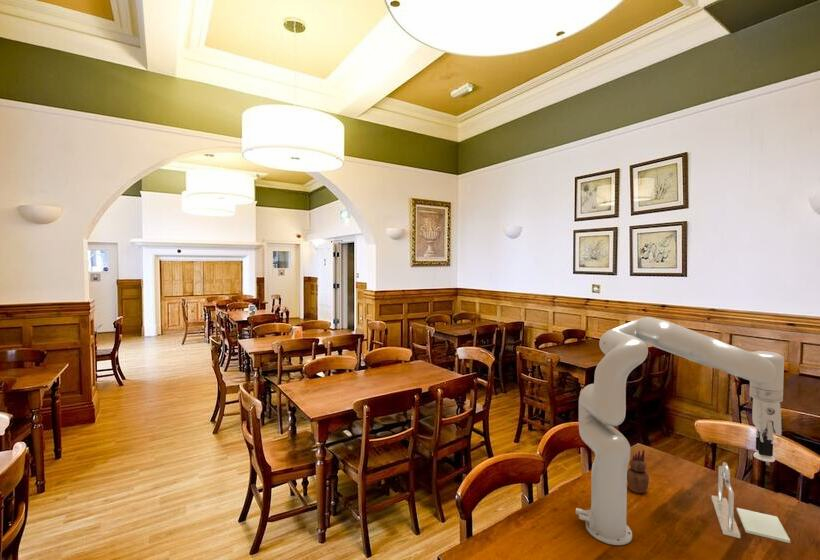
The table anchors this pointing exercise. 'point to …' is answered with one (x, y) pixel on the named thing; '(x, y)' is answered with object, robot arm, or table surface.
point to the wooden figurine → (638, 474)
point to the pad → (762, 525)
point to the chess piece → (763, 457)
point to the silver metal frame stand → (725, 504)
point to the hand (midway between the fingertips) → (764, 452)
